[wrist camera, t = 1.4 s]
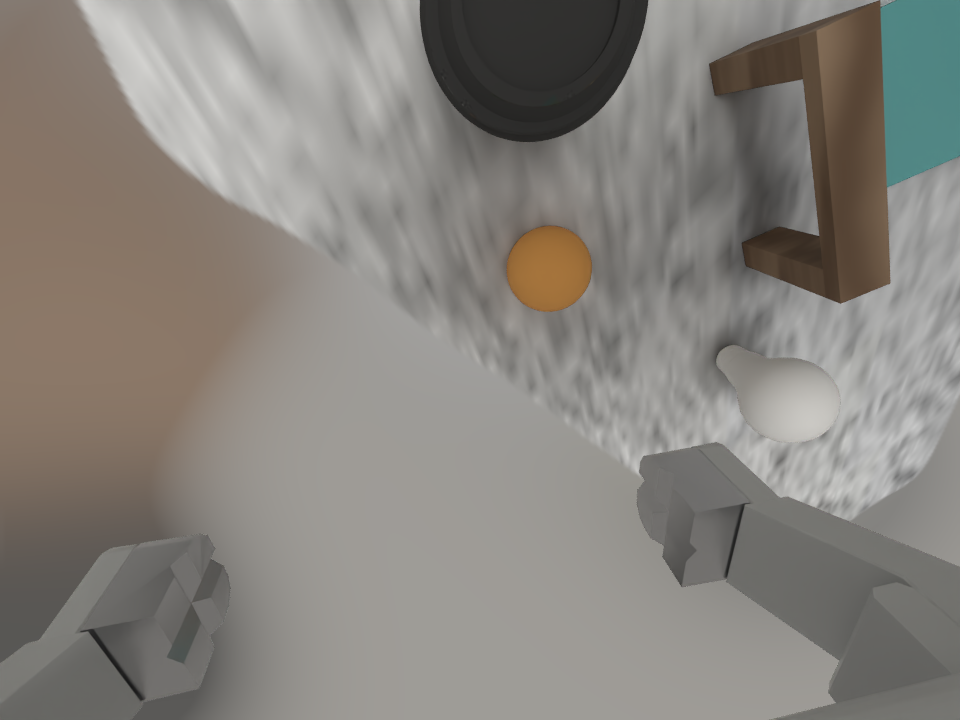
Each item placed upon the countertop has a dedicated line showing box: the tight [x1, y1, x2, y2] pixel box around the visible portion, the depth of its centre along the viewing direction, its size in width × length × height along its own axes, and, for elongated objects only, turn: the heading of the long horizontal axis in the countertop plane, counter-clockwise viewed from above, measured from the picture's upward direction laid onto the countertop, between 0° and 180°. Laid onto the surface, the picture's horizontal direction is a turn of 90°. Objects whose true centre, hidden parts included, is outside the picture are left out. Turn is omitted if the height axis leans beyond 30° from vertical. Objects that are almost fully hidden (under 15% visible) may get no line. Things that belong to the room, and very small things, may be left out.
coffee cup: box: [420, 0, 648, 142], centre depth 23 cm, size 9×9×15 cm
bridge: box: [709, 0, 890, 304], centre depth 29 cm, size 3×15×10 cm, turn 24°
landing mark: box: [880, 0, 960, 187], centre depth 32 cm, size 12×12×1 cm
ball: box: [507, 226, 592, 312], centre depth 33 cm, size 6×6×6 cm
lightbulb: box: [716, 345, 840, 443], centre depth 35 cm, size 6×6×11 cm
